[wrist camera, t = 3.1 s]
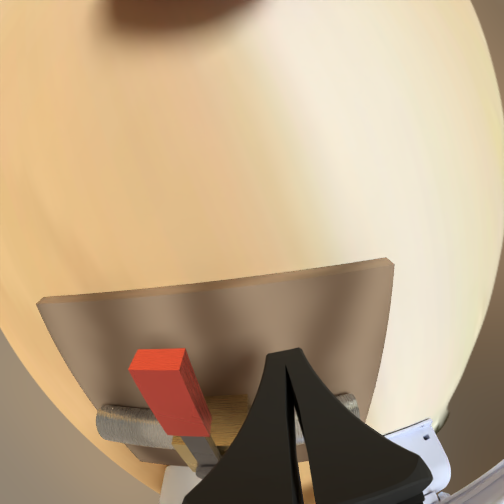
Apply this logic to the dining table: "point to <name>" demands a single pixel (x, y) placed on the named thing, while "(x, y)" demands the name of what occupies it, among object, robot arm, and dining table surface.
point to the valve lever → (177, 401)
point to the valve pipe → (153, 435)
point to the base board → (229, 334)
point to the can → (177, 484)
